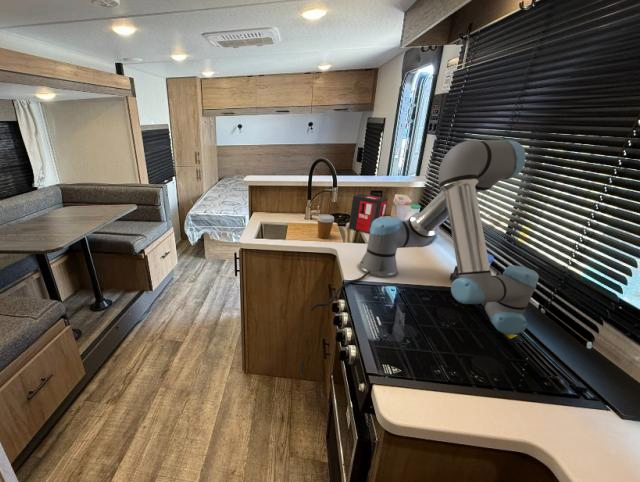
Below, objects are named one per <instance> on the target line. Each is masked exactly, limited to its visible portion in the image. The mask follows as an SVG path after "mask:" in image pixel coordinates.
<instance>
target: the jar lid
mask: <svg viewBox="0 0 640 482" xmlns="http://www.w3.org/2000/svg"><path fill="white" fill-rule="evenodd" d="M487 255H488V261H489V264H491V265H492V263H493V262H494V258H495V257H494V255H492V254H490V253H488V252H487Z"/></svg>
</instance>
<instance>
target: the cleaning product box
mask: <svg viewBox="0 0 640 482" xmlns="http://www.w3.org/2000/svg"><path fill="white" fill-rule="evenodd" d="M388 200H389V198H388V197H384V196H383V197H382V196H377V195H376V196H375V195H371V194H370V195H369V194H366V193H365V194H364V193H359V194H356V195H353V196H352V202H351V209H350V217H349V224H348V229H349V230H354V231H357V232H361V233H365V234H370V228H371V225H372V222H373V221H374V220H375V219H377V218H380V217H386V211H387V207H388Z"/></svg>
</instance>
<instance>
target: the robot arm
mask: <svg viewBox="0 0 640 482" xmlns="http://www.w3.org/2000/svg"><path fill="white" fill-rule="evenodd" d="M526 158H527V154H526V150H525V148H524V147H523V145H522V144H521V143H520V142H518V141H516V140H509V139H504V138H503V139H498V140H497V139H489V140H487V139H486V140H485V139H483V140H477V139H475V140H474V139H472V140H471V139H470V140H465V141H462V142H460V143H457V144H456V145H454V146H453V147H451V148H450V150H448V152H446V154H445V155H444V156H443V158H442V161H441V162H440V165H439V169H438V176H437V177H438V179H437V181H438V186H439V191H440V192H439V193H438V194H437V195H436V196H435V197H434V198H433V199H432V200H431V201H430V202H429V203H428V204H427V205H426V206H425V207H424V208H423V209H422V210H421V211H419V212H417V213H415V214H413V215H412V216H411V217H410V218H409V219H408V220H406V221H402V220H401V219H400V218H397V217H391V216H385V217H380V218H377V219H375V220H374V221H373V222H372V225H371V228H370V234H369V233H368V234H369V236H368V240H367V247H366V251H365V253H364V255H363V257H362V258H361V260H360V262H359V269H360V270H361V271H362V272H363V273H364V274H363V275H362V276H361V277H358V278H355V279H352V280H349V281H346V282H345V283H343V284H342V285H341V286H339V287H338V288H337V290H336V291H335V293H334V295H333V296H332V297H331V299H329V300H328V301H327V302H325V303H323V302H322V303H316V304H314V305H313V306H312V307H311V308H310V309H309V311H311V312H313V311H314V310H315V309H316V308H317V307H326V306H328V305H330V304H331V303H332V302H333V301H334V300H335V299H336V297H337V296H338V295H339V293H340V292H341V290H342V289H343V288H344V287H346V286H348V285H349V284H352V283H355V282H359V281H361V280H364V279H365V278H366V277H367V276H368V275H370V276H372V277H378V278H391V277H394V276H396V275H397V272H398V266H397V258H396V255H397V251H398V249H404V248H405V249H407V248H425V247H429V246H431V245H433V244H434V243H435V242H436V241H437V240H438V236H439V232H440V226H441V225H442V224H443V223H444V222H446V221H447V220H448V221H449V227H450V233H451V239H452V244H453V250H454V254H455V260H456V265H455V266H454V270H453V272H451V273H450V275H449V277H448V278H449V280H450V281H451V282H452V283H451V287H450V293H451V295H452V297H453V298H454V300H456V301H457V302H458V303H460V304H464V305H479V304H481V306H482V307H483V309H484V311H485V313H486V314H487V316H488V318H489V320H490V323H491V324H492V325H493V326H494V328H495V330H497V331H498V332H500V333H502V334H504V335H509V336H513V335H514V336H515V335H519V334H521V333H523V332H524V331H525V330H526V329H527V328H528V322H527V320H526V316H525V315H524V314H525V312H526V311H527V307H528V305H529V302H530V301H531V298H532V297H533V294H534V292H535V290H536V289H537V284H538V281H539V278H540V276H539V274H538V273H537V271H535V270H533V269H531V268H529V267H525V266H520V265H508V266H507V267H505V269H504V271H502V273H501V272H500V271H496V273H495V275H492V271H491V265H490V266H489V261H488V255H487V253H488V251H487V244H486V239H485V234H484V228H483V221H482V215H481V211H480V206H479V200H478V195H477V194H478V193H479V192H485V191H488V190H490V189H491V188H493V187H494V186H495V185H496V184H497V183H499V181H501V180H510V179H512V178H515V177H516V176H518V175H519V174H520V173H521V171H522V170H523V169H524V167H525V164H526ZM304 368H305V361H304V359H302V360H301V366H300V374H301V375H303V374H304Z"/></svg>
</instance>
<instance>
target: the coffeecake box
mask: <svg viewBox="0 0 640 482" xmlns="http://www.w3.org/2000/svg"><path fill="white" fill-rule="evenodd" d="M412 203H413V202H412V199H411V198H410V197H409V195H408V194H400V193H395V194H394V197H393V203H392V207H391V212H390V217H397V218H400V219H401V220H402V221H404V220H405V218H406V216H407V215H408V213H409V212H410V208H411V205H412Z"/></svg>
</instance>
